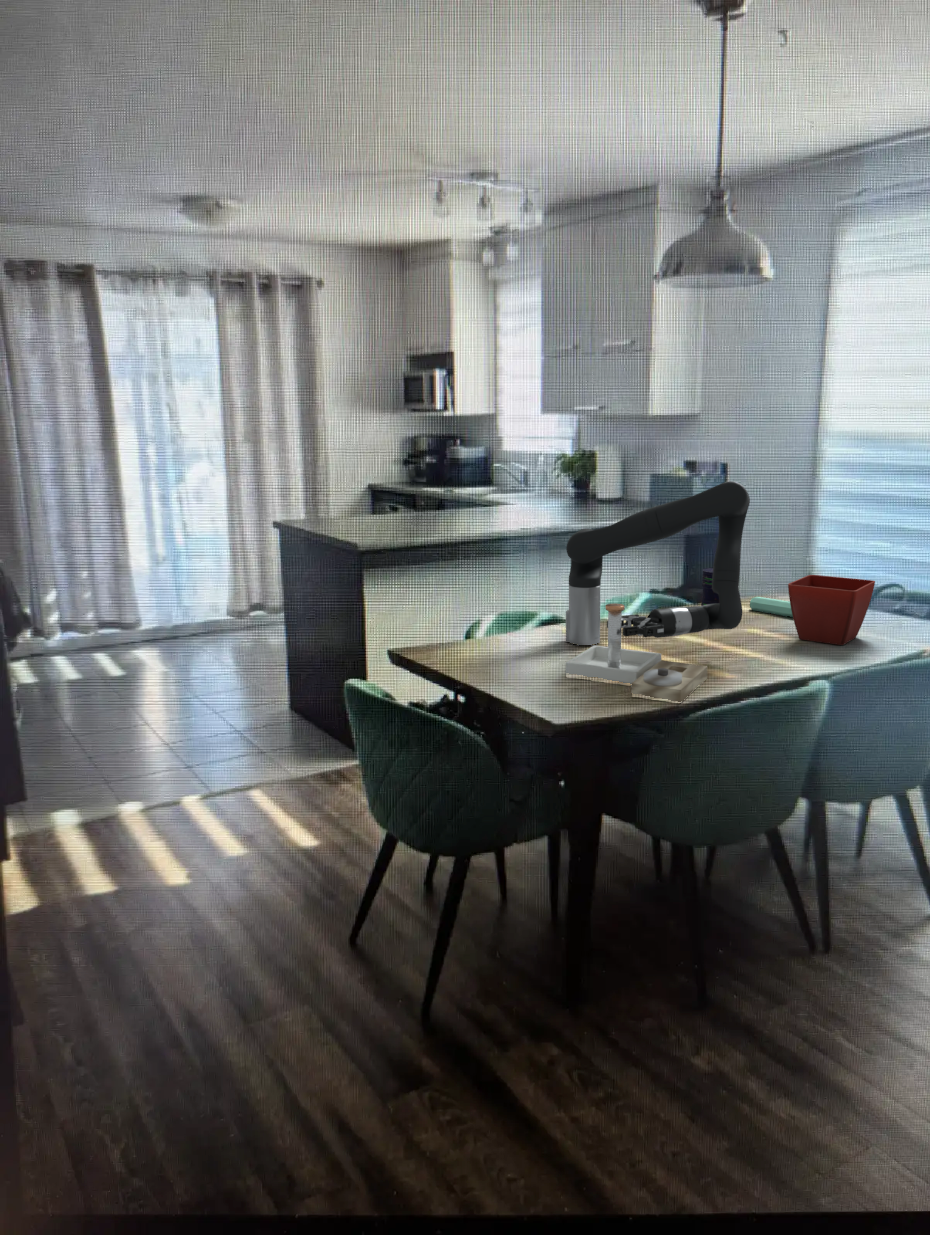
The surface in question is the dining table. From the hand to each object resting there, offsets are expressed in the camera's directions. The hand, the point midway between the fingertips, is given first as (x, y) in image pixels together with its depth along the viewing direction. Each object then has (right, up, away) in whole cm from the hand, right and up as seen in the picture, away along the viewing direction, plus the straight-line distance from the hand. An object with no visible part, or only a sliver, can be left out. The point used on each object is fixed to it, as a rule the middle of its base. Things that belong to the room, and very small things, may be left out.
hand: (615, 628), depth 236 cm
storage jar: (+43, +3, +64) cm, 77 cm away
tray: (0, -12, +3) cm, 12 cm away
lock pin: (0, -11, +3) cm, 11 cm away
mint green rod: (+65, +3, +61) cm, 89 cm away
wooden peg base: (+12, -15, -11) cm, 22 cm away
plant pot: (+67, -4, +32) cm, 75 cm away
